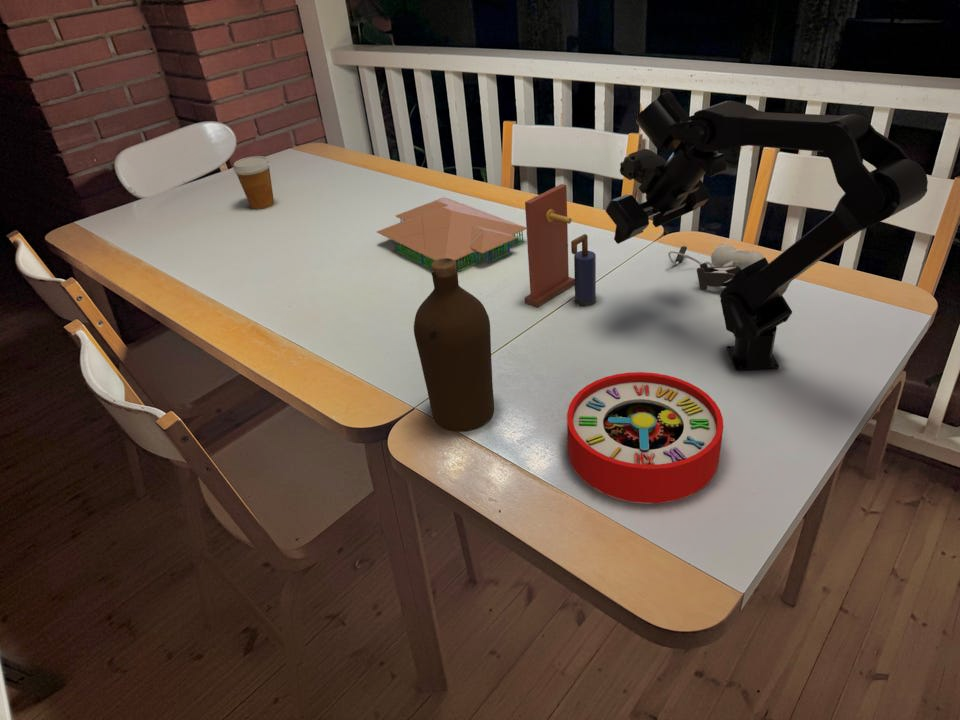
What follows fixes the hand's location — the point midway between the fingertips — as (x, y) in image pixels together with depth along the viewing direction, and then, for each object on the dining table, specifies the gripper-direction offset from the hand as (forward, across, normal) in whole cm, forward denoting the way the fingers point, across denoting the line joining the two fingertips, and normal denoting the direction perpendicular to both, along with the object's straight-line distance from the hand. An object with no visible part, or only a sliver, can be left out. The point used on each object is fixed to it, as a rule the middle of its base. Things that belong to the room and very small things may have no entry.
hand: (635, 233), depth 119 cm
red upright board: (+18, +8, -2) cm, 20 cm away
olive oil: (+8, +42, +13) cm, 44 cm away
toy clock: (-5, +28, +32) cm, 43 cm away
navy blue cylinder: (+15, +6, +2) cm, 16 cm away
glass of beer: (+73, +31, -79) cm, 112 cm away
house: (+39, +9, -31) cm, 50 cm away
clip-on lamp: (+10, -18, +10) cm, 23 cm away
